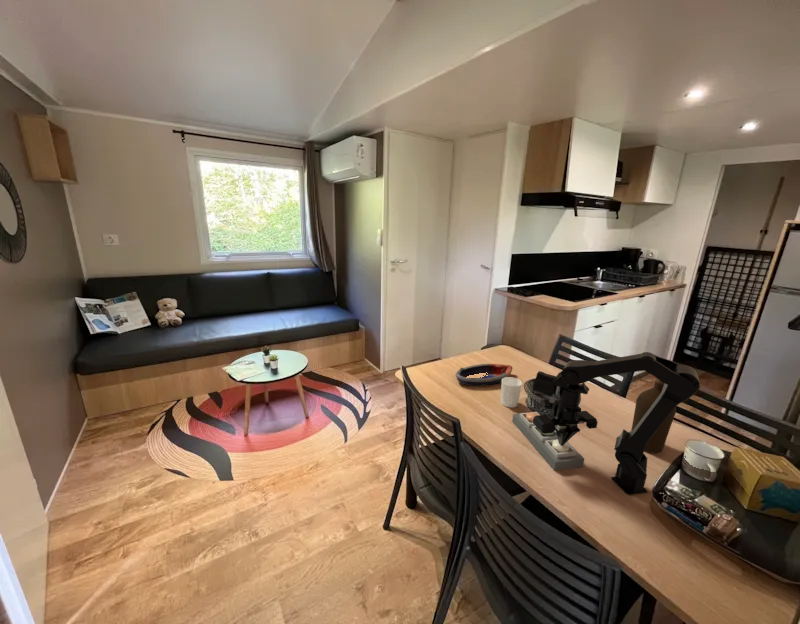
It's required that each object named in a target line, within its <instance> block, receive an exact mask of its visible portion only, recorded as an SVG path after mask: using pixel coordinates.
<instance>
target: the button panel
mask: <svg viewBox="0 0 800 624" xmlns="http://www.w3.org/2000/svg"><path fill="white" fill-rule="evenodd" d="M530 412H531V411H530ZM530 412H521V413H520V412H519V413H513V414H512V418H511V419H512V420H511V421H512V423H513V424H514V425H515V427H516V428H517V429H518V430H519V431H520V432H521V433H522V435H523V436H524V437H525V438H526V440H528V441H529V443H530V444H531V445H532V447H533V448H534V449H535V450H536V451H537V453H538V454H539V455H540V456H541V458H543V460H545V462H546V464H548V465H549V467H550V468H551V469H552V471H562V470H567V469H577V468H583V467H584V464H585V458H584V456H583V455H581V453H580V452H578V450H576V448H575V447H574V446H573V445H571V444H570V443H569V441H567V442H566V443H567V444H568V445H569V450H568V452H563V453H557V451H556V450H555V449H554V448H553V447H552V443H553V441H554V440H558V438H557V434H556V431H554V433H553V435H544V434H542V433H540V432H539V430H538V428H537V427H536V426H535V425H534V424H533V423H530V422H529V421H528V420H527V419H526V414H527V413H530ZM532 413H536V414H538V415H541V414H540V413H539V412H538V411H532Z"/></svg>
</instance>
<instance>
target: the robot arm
mask: <svg viewBox="0 0 800 624" xmlns="http://www.w3.org/2000/svg"><path fill="white" fill-rule="evenodd" d="M635 372H646V373H648V374H650V375H651V376H653V377H655V379H656V378H657V379H659V380H660V381H662V382H663V383H665V384H664V387H663V389H662V392H661V394H660V395H659V396H658V398H657V399H656V400H655V402H654V403H653V404H652V406H651V407H650V408H649V410H648V411H647V412H646V414H645V415H644V416H643V418H642V419H641V420H640V422H639V423H638V424H637V426H636V427H635V428H634V429H633V430H632V431H631V430H630V431H627V430H626V429H622V431H621V434H620V435H618V436H617V437H616V440H615V443H614V444H615V445H614V448H613V449H614V451H615V452H614V457H615V459H616V461H617V462H618V464H617V468H616V472H615V476H611V478H610V479H611V480H612V482H614V483H615V484H616V485H617V486H618V487H619V488H620V489H621V490H622V491H623V493H624V492H625V493H626V495H628V496H633V495H639V494H645V493H648V489H646V487H645V484H646V480H647V477H648V474H647V471H648V469H647V468H648V456H646V454H645V453H644V452H645V451H644V450H645V447H646V444H647V443H648V441H649V440H650V439H651V437H652V436H653V435H654V434H655V432H656V431H657V430H658V429H659V427H660V426H661V425H662V424H663V422H664V421H665V420H666V418H667V417H668V416H669V415H670V413H671V412H672V411H673V410H674V408H675V407H676V408H677V407H678V405H679V404H681V403H684V402H686V401H687V400H689V399H690V398H691V397H693V396H694V395H696V393H697V392H698V391H699V390H700V387H701V385H700V384H701V383H700V379H699V375H698V372H697V371H696V370H695V368H693V367H692V366H690V365H686V364H679V363H677V362H675V361H673V360H671V359H667V358H664V357H661V356H659V355H656V354H654V353H652V352H649V351H644V352H642V353H638V354H632V355H625V356H618V357H613V358H608V359H601V360H592V361H591V360H586V359H573V360H569V361H567V363H566V364H565V366H564V367H563V368H562V370H561V371H560V372H558V373H557V375H556V376H555V375H554V374H553V375H552V374H550V373H549V374H548V373H545V372H543V371H540V370H539V371H538V372H537V373H536V376H535V379H534V383H533V384H532V391H533V392H534V393H536V394H540V395H544V396H547V397H550V398H552V397H553V399H549V398H547V397H546V398H541V399H540V403H539V404H540V408H541V409H542V410H545V411H548V412H551V413H550V414H551V415H552V416H553V417H552V418H550V417H549V416H548V415H547V414H540V415H538V416H534V418H533V424H534V425H535V426H536V427H537V428H538V429H539V430H540V431H541V432H542V433H545V434H546V433H553V432H554V431H556V434H557V438H558V442H559V444H560V445H561V446H563V445H564V444H565V443H566V442H569V440H570V439H571V438H573V437H574V436H575V435H576V434H577V433H580V431H581V428H579V427H578V425H580V424H584V423H586V425H585V426H586V428H588V429H597V427H598V419H597V418H596V417H594V416H593V415H592V414H591V413H590V412H589V411H587V410H582V408H581V407H580V400H581V396H582V395H581V394H583V395H588V394H589V391H590V388H589V386H588V385H586V382H589V381H591V380H593V379H596V378H599V377H607V376H613V375H621V374H629V373H635ZM558 392H559V393H558ZM557 395H558V399H557V398H554V396H557ZM554 417H555V418H554ZM625 493H624V494H625Z"/></svg>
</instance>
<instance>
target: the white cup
mask: <svg viewBox="0 0 800 624" xmlns="http://www.w3.org/2000/svg"><path fill="white" fill-rule="evenodd" d="M522 385H523V383H522V381H521V380H520V379H519V378H516V377H513V376H511V377H510V376H509V377H505V378H503V379H502V382H500V386H501V387H500V403H501V405H503V406H504V407H505V408H510V409H511V408H516V407H518V404H519V399H520V396H521V391H522V390H521V389H522Z"/></svg>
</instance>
